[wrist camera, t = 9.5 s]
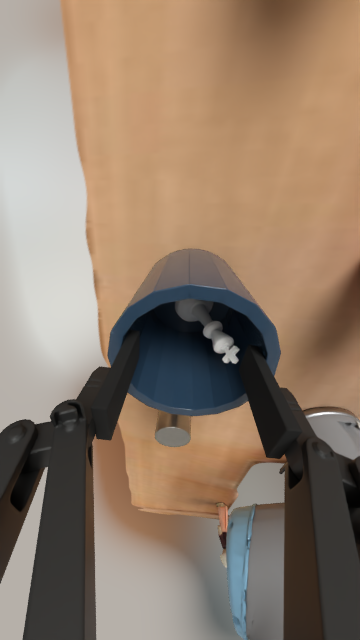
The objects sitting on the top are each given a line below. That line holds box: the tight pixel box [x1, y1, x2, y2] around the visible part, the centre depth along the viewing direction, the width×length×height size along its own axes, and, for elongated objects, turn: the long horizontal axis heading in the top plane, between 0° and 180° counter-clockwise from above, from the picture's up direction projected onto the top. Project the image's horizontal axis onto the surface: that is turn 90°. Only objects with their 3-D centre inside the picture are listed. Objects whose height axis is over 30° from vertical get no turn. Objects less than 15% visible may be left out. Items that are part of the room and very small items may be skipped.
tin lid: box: [155, 410, 191, 447], centre depth 28 cm, size 13×13×9 cm
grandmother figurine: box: [216, 503, 228, 568], centre depth 56 cm, size 8×4×13 cm, turn 38°
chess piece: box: [175, 299, 239, 364], centre depth 19 cm, size 5×5×10 cm
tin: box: [108, 249, 281, 416], centre depth 19 cm, size 12×12×12 cm
